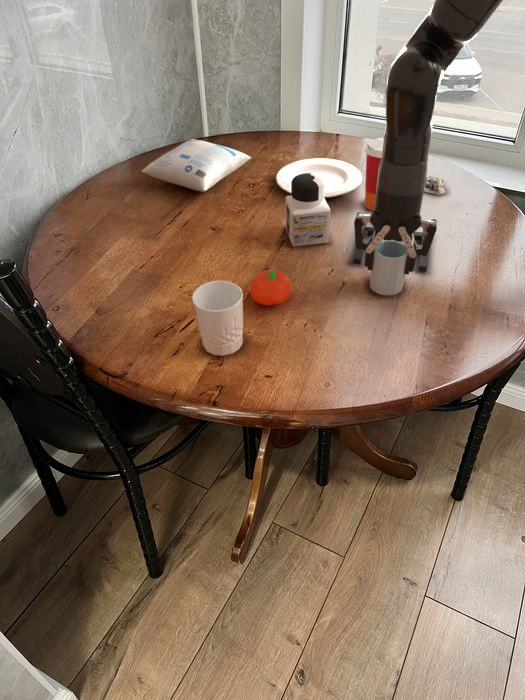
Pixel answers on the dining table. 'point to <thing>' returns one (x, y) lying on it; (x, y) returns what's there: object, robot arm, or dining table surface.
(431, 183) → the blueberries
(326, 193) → the plate
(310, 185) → the container
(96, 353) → the dining table surface
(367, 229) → the frame
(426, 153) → the robot arm
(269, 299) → the pumpkin
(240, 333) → the white cup
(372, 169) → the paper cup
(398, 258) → the pale grey cup
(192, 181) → the pouch
